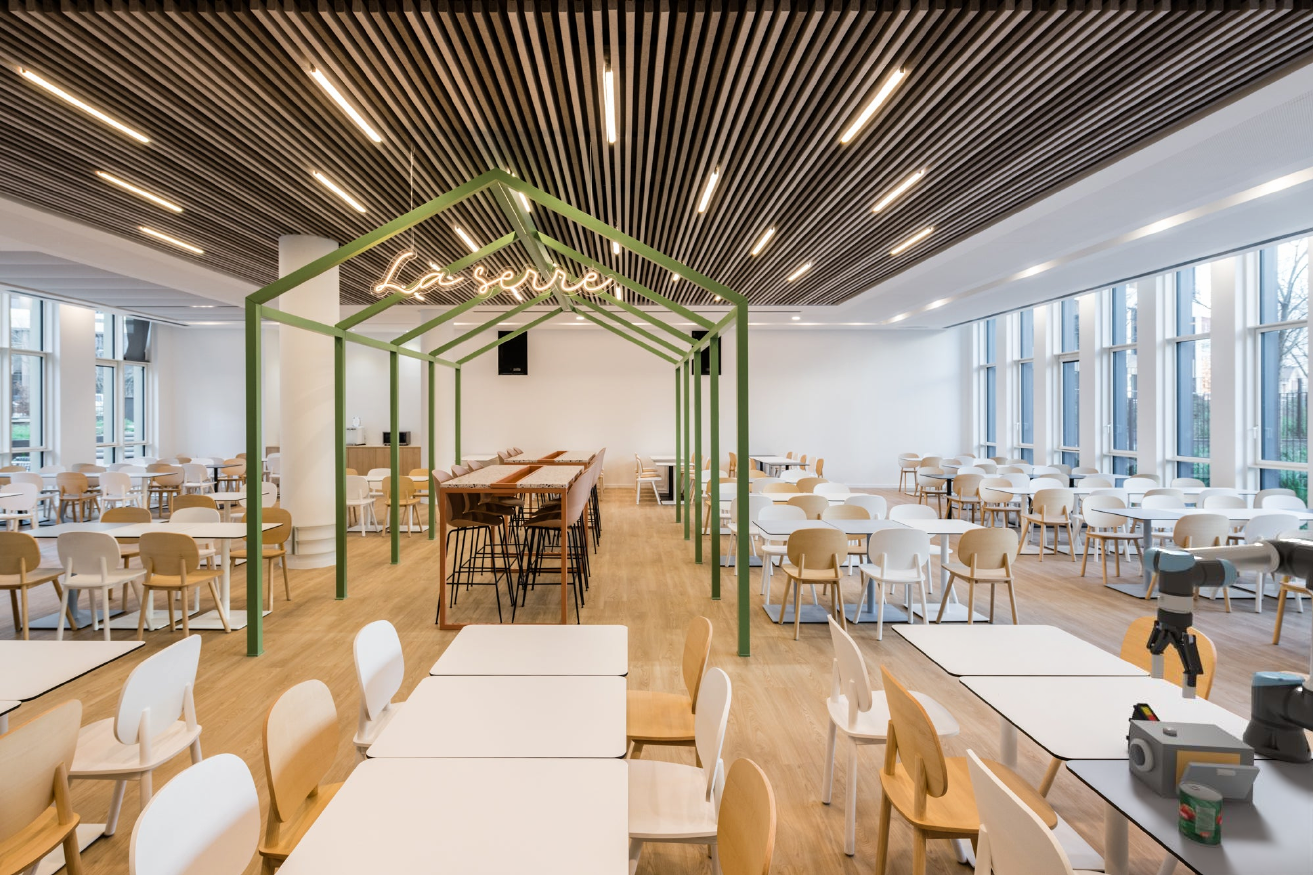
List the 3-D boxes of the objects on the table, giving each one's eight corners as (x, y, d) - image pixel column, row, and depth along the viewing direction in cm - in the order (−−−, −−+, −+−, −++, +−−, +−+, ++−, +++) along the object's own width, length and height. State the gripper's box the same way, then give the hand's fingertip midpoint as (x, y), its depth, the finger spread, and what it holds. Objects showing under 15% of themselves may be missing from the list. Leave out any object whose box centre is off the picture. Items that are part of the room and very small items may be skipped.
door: (1175, 790, 173) (1188, 762, 168) (1241, 795, 171) (1257, 766, 167) (1179, 798, 171) (1193, 769, 166) (1247, 802, 170) (1263, 773, 165)
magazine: (1132, 737, 203) (1147, 702, 197) (1158, 776, 192) (1176, 740, 185) (1119, 736, 204) (1134, 701, 197) (1145, 775, 192) (1162, 740, 185)
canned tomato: (1230, 846, 154) (1232, 799, 153) (1198, 847, 153) (1200, 800, 153) (1199, 825, 161) (1201, 780, 161) (1169, 826, 161) (1170, 781, 161)
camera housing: (1213, 773, 186) (1214, 720, 185) (1253, 803, 171) (1255, 745, 171) (1120, 768, 188) (1121, 715, 188) (1152, 796, 174) (1154, 739, 174)
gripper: (1133, 596, 192) (1131, 669, 192) (1189, 622, 167) (1187, 706, 168) (1161, 598, 191) (1159, 671, 191) (1223, 623, 166) (1220, 708, 166)
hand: (1172, 687), depth 179 cm, fingers open, 13 cm apart
